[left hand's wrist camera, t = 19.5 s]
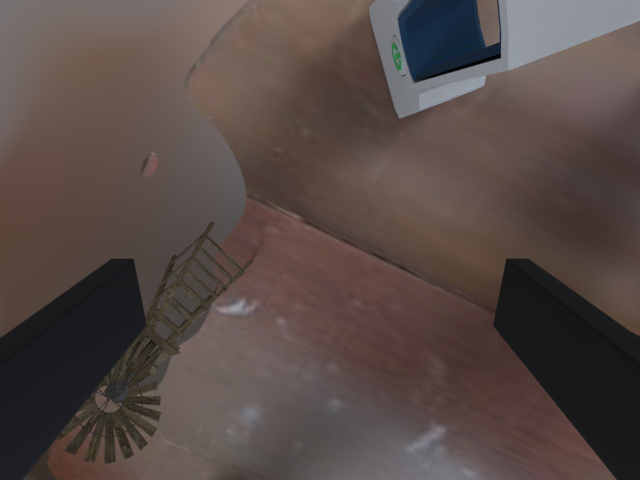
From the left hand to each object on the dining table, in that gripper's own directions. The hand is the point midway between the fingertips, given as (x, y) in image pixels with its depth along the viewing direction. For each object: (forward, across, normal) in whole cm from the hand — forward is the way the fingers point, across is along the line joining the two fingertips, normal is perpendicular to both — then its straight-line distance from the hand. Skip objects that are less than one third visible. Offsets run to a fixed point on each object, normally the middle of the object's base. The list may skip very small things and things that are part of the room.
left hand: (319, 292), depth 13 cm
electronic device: (+36, +11, +12) cm, 39 cm away
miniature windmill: (+36, -15, -14) cm, 41 cm away
